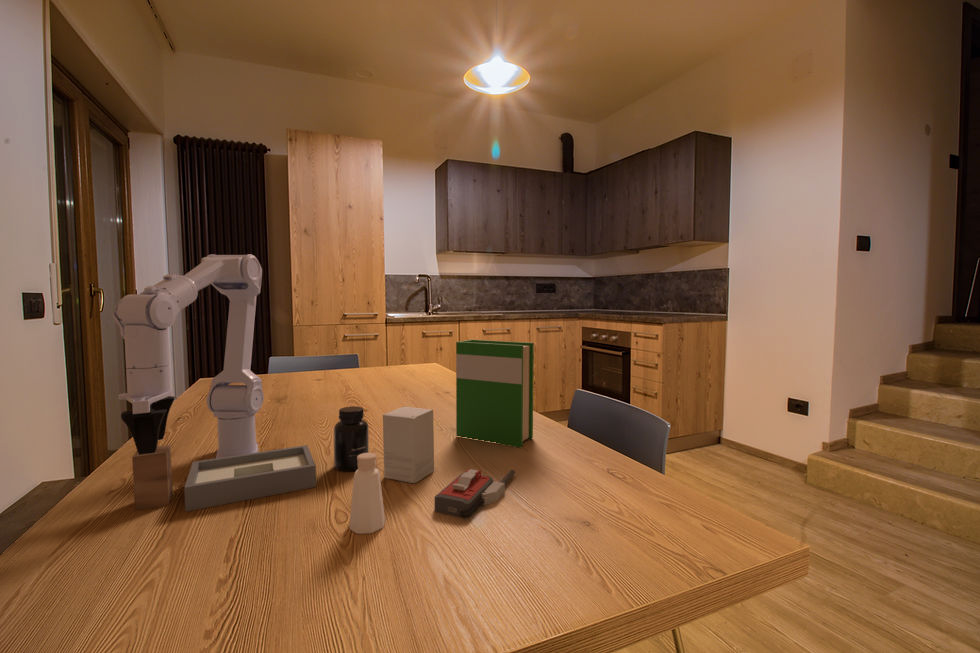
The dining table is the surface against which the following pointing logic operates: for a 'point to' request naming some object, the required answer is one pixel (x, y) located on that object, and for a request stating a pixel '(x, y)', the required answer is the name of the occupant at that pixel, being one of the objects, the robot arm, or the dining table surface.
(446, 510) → the walkie-talkie
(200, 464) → the open box
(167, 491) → the wooden peg
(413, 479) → the supplement box
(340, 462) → the supplement bottle
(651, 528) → the dining table surface
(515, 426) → the hardback book
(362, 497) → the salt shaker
